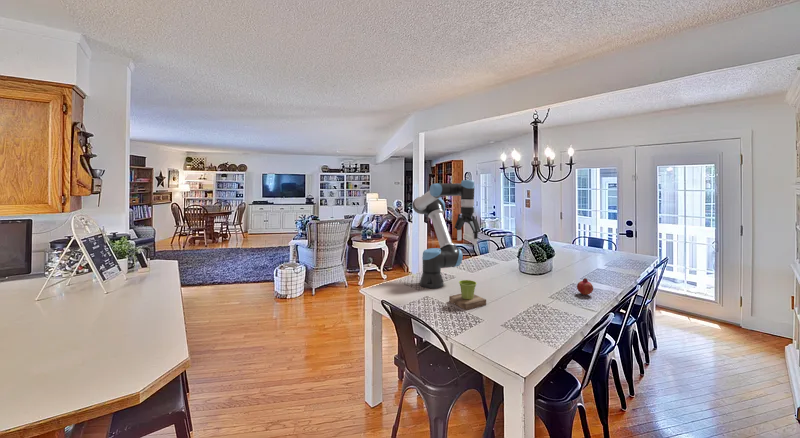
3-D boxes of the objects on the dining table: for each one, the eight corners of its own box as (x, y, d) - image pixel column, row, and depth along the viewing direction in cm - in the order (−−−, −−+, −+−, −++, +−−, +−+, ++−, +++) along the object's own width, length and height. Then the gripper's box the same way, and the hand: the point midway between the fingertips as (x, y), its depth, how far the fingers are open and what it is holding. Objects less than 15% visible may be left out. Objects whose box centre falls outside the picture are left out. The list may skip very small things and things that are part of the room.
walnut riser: (449, 301, 174) (449, 296, 173) (468, 296, 180) (468, 291, 180) (466, 310, 161) (466, 304, 161) (486, 304, 168) (486, 299, 168)
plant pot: (465, 293, 177) (465, 278, 176) (479, 297, 170) (480, 282, 170) (455, 297, 171) (455, 282, 170) (470, 302, 164) (470, 286, 163)
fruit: (594, 297, 178) (596, 280, 177) (579, 296, 180) (580, 279, 178) (589, 292, 186) (590, 276, 185) (574, 292, 187) (575, 275, 186)
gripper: (449, 205, 192) (448, 239, 194) (477, 208, 170) (476, 246, 172) (458, 205, 195) (458, 238, 197) (487, 207, 173) (486, 245, 176)
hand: (466, 242), depth 185 cm, fingers open, 13 cm apart
